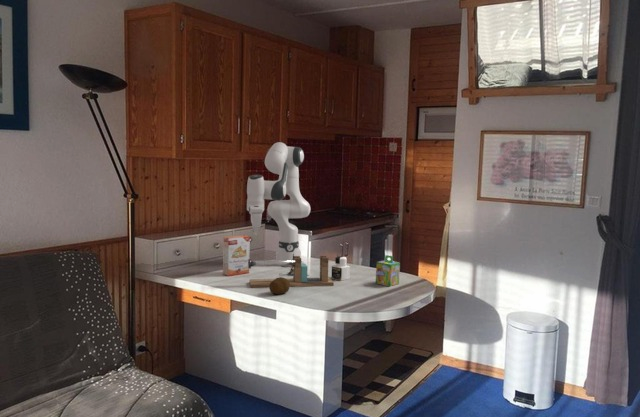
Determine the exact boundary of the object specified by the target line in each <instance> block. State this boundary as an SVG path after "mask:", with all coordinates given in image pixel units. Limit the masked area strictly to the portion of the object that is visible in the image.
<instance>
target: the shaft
mask: <svg viewBox="0 0 640 417" xmlns="http://www.w3.org/2000/svg"><path fill="white" fill-rule="evenodd" d="M292 266H295V260H275V259H274V260H273V259H272V260H271V259H270V260H269V259H268V260H252V259H251V258H249V259H248V269H249V270H250V269H252V267H253V268H255V267H262V268H263V267H292Z"/></svg>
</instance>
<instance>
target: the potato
mask: <svg viewBox="0 0 640 417" xmlns="http://www.w3.org/2000/svg"><path fill="white" fill-rule="evenodd" d="M274 279H275V280H273V281H272V282H271V283H270V286H269V287H268V288H269V291H270V293H271V294H273V295H281V294H285V293H287V292H289V290H290V288H291V287H290V282H289V281H288V280H287V279H288V278H285V277H276V278H274Z"/></svg>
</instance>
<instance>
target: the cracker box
mask: <svg viewBox="0 0 640 417" xmlns="http://www.w3.org/2000/svg"><path fill="white" fill-rule="evenodd" d="M250 238H251V237H250V236H248V235H245V234H244V235H233V236H224V237H222V239H223V240H222V242H223V244H222V247H223V248H222V250H223V251H222V275H224V276H227V277H231V276H237V275H238V276H239V275H245V274H249V273H250V269H248V259H250V251H251V250H250V247H251V246H250V245H251V244H250V242H251V239H250Z"/></svg>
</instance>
